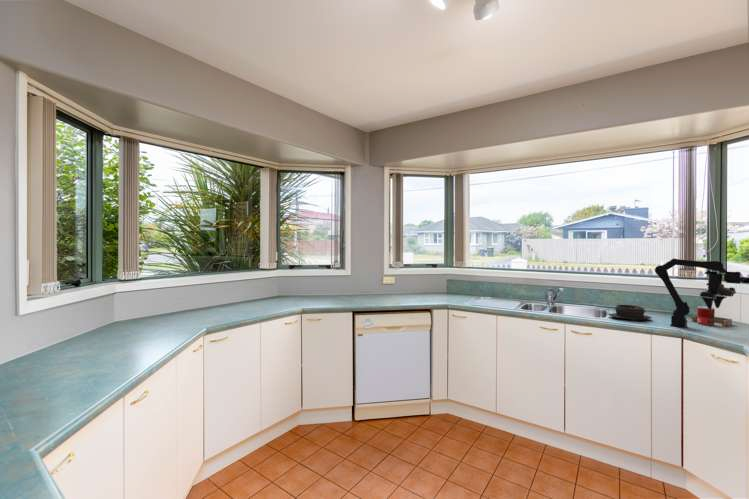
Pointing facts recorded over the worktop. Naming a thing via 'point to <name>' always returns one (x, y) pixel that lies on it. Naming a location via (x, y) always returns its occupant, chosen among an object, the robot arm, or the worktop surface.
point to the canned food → (705, 315)
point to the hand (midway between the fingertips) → (713, 308)
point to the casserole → (629, 312)
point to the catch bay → (717, 320)
